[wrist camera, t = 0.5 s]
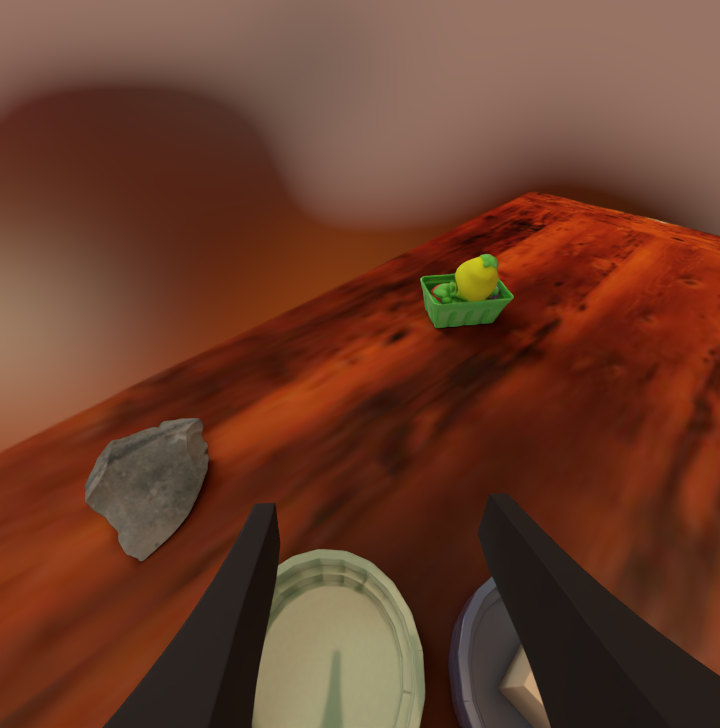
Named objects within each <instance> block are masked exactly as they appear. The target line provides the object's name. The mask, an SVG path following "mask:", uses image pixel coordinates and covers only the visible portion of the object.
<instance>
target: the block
mask: <svg viewBox="0 0 720 728" xmlns="http://www.w3.org/2000/svg"><path fill="white" fill-rule="evenodd" d="M498 689H499V691H500V692H501V693H502V694H503V695H504V696H505V697H506V698H507V699H508V700H509V701H510V703H511V704H512V705H513V706H514V707H515V708H516V709H517V710H518V711H519V712H520V714H521V715H522V716H523V717H524V718H525V719H526V720H527V721H528V722H529V723H530V724H531V726H532V727H533V728H551V727H550V724H549V721H548V718H547V715H546V711H545V708H544V705H543V702H542V699H541V696H540V693H539V691H538V688H537V685H536V682H535V679H534V676H533V673H532V670H531V667H530V664H529V662H528V659H527V656H526V654H525V651H524V649H523V646H522V644H521V645H520V647H519V649H518V651H517V653H516V655H515V657H514V658H513V660H512V662H511V664H510V666H509V668H508V670H507V672H506V674H505V676H504V678H503V680H502V681H501V683H500V685H499V687H498Z"/></svg>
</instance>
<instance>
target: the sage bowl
mask: <svg viewBox="0 0 720 728" xmlns="http://www.w3.org/2000/svg"><path fill="white" fill-rule="evenodd" d="M422 650H423V648H422V645H421V642H420V638H419V635H418V632H417V628H416V625H415V622H414V618H413V615H412V613H411V610H410V608H409V607H408V605H407V603H406V602H405V600H404V599H403V597H402V595H401V594H400V592H399V590H398V589H397V587H396V585H395V584H394V583H393V581H392V580H391V579H389V578H388V577H387V576H386V575H385V574H384V573H383V572H382V571H381V570H380V569H379V568H377V567H376V566H375V565H374V564H373V563H372V562H370V561H368V560H366V559H364V558H361V557H359V556H357V555H354V554H352V553H350V552H348V551H341V550H326V549H320V550H319V549H317V550H314V551H310V552H306V553H303V554H299V555H296V556H293V557H291V558H289V559H288V560H286V561H285V562H283V563H282V564H280V565H279V566H278V571H277V579H276V585H275V590H274V595H273V600H272V605H271V610H270V615H269V620H268V626H267V631H266V636H265V641H264V646H263V651H262V656H261V661H260V667H259V673H258V679H257V685H256V694H255V702H254V710H253V718H252V726H251V728H420V724H421V718H422V713H423V707H424V702H425V676H424V658H423V651H422Z"/></svg>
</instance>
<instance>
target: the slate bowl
mask: <svg viewBox="0 0 720 728" xmlns="http://www.w3.org/2000/svg"><path fill="white" fill-rule="evenodd" d="M520 645H521V641H520V639H519V637H518V635H517V632H516V630H515V628H514V625H513V623H512V621H511V618H510V616H509V614H508V612H507V609H506V607H505V605H504V602H503V600H502V598H501V596H500V593H499V591H498V589H497V586H496V584H495V582H494V579H493V577H491V578H490V579H488V580H487V581H486V582H485V583H484V584H483V585H482V586H481V587H480V588H478V589H477V590H476V591H475V592H474V593H473V595H472V596H471V597H470V598H469V599H468V600H467V601H466V602H465V604H464V606H463V608H462V610H461V612H460V614H459V616H458V618H457V620H456V622H455V624H454V627H453V632H452V638H451V645H450V651H449V657H448V667H449V677H450V688H451V699H452V702H453V707H454V711H455V714H456V717H457V720H458V723H459V726H460V728H533V727H532V726H531V724H530V723H529V722H528V721H527V720H526V719H525V718H524V717H523V716H522V715H521V714H520V712H519V711H518V710H517V709H516V708H515V707H514V706H513V705H512V704H511V703H510V701H509V700H508V699H507V698H506V697H505V696H504V695H503V694H502V693H501V692H500V691H499V689H498V687H499V685H500V683H501V681H502V680H503V678H504V676H505V674H506V672H507V670H508V668H509V666H510V664H511V662H512V660H513V658H514V657H515V655H516V653H517V651H518V649H519V647H520Z"/></svg>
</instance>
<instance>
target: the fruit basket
mask: <svg viewBox="0 0 720 728" xmlns="http://www.w3.org/2000/svg"><path fill="white" fill-rule="evenodd" d="M497 268H498V261H497V259H496V258H495V257H493V256H492V255H490V254H484V255H481V256H480V257H477V258H475V259H472V260H468V261H467V262H465V263H463V264H461V265H460V266H459V268H458V269H457V271H456V273H455V274H449V275H437V276H424V277H422V278H421V279H420V280H421V286H422V288H423V295H424V302H425V309H426V311H427V312H428V315H429V317H430V319H431V321H432V322H433V323H434V327H435V328H445V327H447V326H449V327H456V326H462V325H477V324H480V323H481V324H488V323H493V322H494V320H495V319H496V318H497V316H498V315H499V314H500V312H501V311H502V310H503V309H504V307H505V306H506V305H507V304H508V303H509V302H510V301H511V300H512V299H513V295H512V294H511V293H510V292H509V290H508V289H507V288H506V287H505V285H504V284H503V283H502V282H501V281H500V280H499V278H498V272H497Z"/></svg>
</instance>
